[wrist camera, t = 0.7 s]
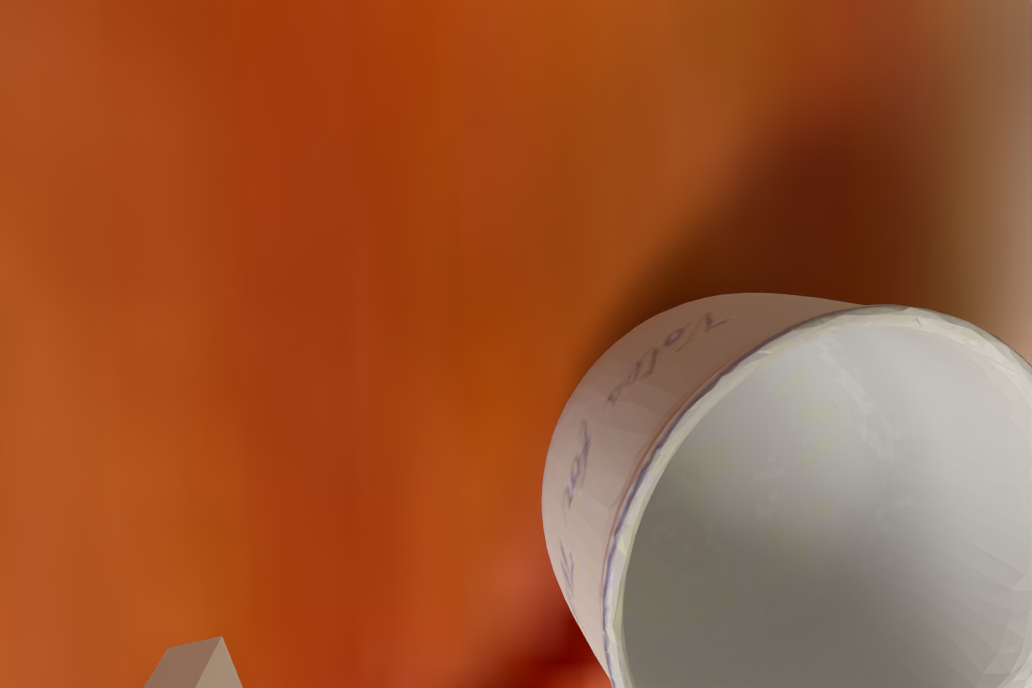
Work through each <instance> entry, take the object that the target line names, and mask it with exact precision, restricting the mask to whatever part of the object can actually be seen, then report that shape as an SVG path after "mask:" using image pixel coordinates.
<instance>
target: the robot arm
mask: <svg viewBox="0 0 1032 688" xmlns="http://www.w3.org/2000/svg"><path fill="white" fill-rule="evenodd" d="M144 688H243V687H242V685H241V682H240V680H239V677H238V675H237V672H236V670H235V667H234V665H233V662H232V660H231V657H230V655H229V652H228V650H227V647H226V645H225V642H224V640H223V637H222V636H220V637H216V638H211V639H207V640H202V641H198V642H193V643H189V644H184V645H180V646H176V647H171V648H168V649H167V651H166V652H165V654H164V656H163V657H162V659H161V660H160V662H159V664H158V665H157V667H156V668H155V670H154V672H153V673H152V675H151V677H150V678H149V680H148V681H147V683H146V685H145V686H144Z"/></svg>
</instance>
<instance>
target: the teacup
mask: <svg viewBox="0 0 1032 688" xmlns="http://www.w3.org/2000/svg"><path fill="white" fill-rule="evenodd" d="M542 517H543V526H544V534H545V539H546V545H547V549H548V553H549V556H550V560H551V563H552V567H553V570H554V573H555V576H556V578H557V581H558V583H559V586H560V588H561V590H562V593H563V595H564V597H565V599H566V602H567V604H568V606H569V608H570V610H571V612H572V614H573V616H574V618H575V620H576V622H577V623H578V625H579V627H580V629H581V631H582V632H583V634H584V636H585V638H586V640H587V641H588V643H589V645H590V647H591V649H592V650H593V652H594V654H595V656H596V657H597V659H598V661H599V662H600V664H601V666H602V667H603V669H604V670H605V672H606V674H607V675H608V677H609V679H610V680H611V684H612V688H1024V687H1025V684H1026V682H1027V680H1028V679H1029V677H1030V676H1031V675H1032V366H1031V365H1030V364H1029V363H1028V362H1027V361H1026V360H1025V359H1024V358H1023V357H1022V356H1021V355H1019V354H1018V353H1017V352H1016V351H1014V350H1013V349H1012V348H1011V347H1010V346H1009V345H1007V344H1006V343H1005V342H1003V341H1002V340H1001V339H1000V338H998V337H997V336H995V335H992V334H990V333H988V332H986V331H984V330H982V329H981V328H979V327H977V326H975V325H973V324H972V323H970V322H968V321H965V320H963V319H960V318H957V317H954V316H951V315H947V314H944V313H941V312H938V311H934V310H930V309H926V308H916V307H910V306H904V305H895V304H883V305H860V304H853V303H847V302H841V301H835V300H829V299H823V298H815V297H806V296H797V295H788V294H775V293H735V294H723V295H717V296H711V297H706V298H702V299H698V300H695V301H691V302H687V303H684V304H681V305H679V306H677V307H674V308H672V309H669V310H667V311H664V312H662V313H660V314H657V315H655V316H653V317H652V318H650V319H648V320H646V321H645V322H643V323H641V324H640V325H638V326H636V327H635V328H634V329H632V330H631V331H630V332H628V333H627V334H626V335H625V336H623V337H622V338H621V339H619V340H618V341H617V342H615V343H614V344H613V345H612V346H611V347H610V348H609V349H608V350H607V351H606V352H605V353H604V354H603V355H602V356H601V357H600V358H599V359H598V360H597V361H596V362H595V363H594V364H593V365H592V366H591V368H590V369H589V370H588V372H587V373H586V374H585V376H584V377H583V378H582V380H581V381H580V382H579V384H578V385H577V387H576V388H575V390H574V392H573V393H572V395H571V396H570V398H569V400H568V401H567V403H566V405H565V407H564V409H563V412H562V414H561V416H560V418H559V420H558V422H557V425H556V428H555V430H554V433H553V436H552V439H551V442H550V446H549V450H548V453H547V457H546V464H545V470H544V476H543V488H542Z"/></svg>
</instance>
